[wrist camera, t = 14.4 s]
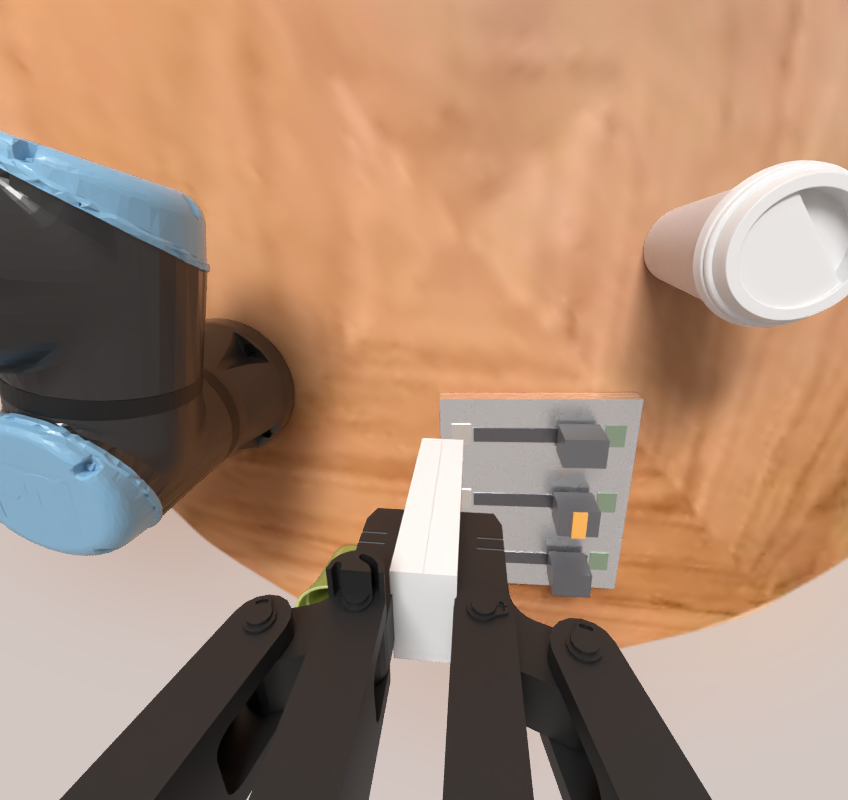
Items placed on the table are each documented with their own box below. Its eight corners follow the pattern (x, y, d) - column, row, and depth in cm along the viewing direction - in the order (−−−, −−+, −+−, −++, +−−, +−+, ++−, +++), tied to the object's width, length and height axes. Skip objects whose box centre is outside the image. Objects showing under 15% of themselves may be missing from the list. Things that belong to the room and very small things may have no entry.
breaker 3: (546, 571, 49) (551, 595, 46) (548, 551, 48) (553, 573, 45) (582, 573, 49) (589, 597, 45) (584, 552, 48) (592, 576, 44)
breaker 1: (556, 450, 43) (562, 467, 40) (558, 424, 42) (565, 439, 39) (596, 451, 43) (606, 468, 40) (599, 424, 42) (610, 440, 39)
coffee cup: (741, 284, 38) (894, 313, 24) (630, 310, 40) (712, 350, 26) (740, 170, 35) (913, 127, 21) (619, 204, 37) (706, 185, 23)
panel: (446, 567, 54) (445, 580, 52) (440, 392, 45) (439, 399, 43) (609, 576, 51) (614, 589, 49) (636, 392, 43) (644, 399, 41)
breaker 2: (551, 515, 46) (557, 537, 43) (553, 491, 45) (560, 513, 42) (589, 516, 46) (598, 539, 42) (592, 492, 45) (602, 514, 41)
